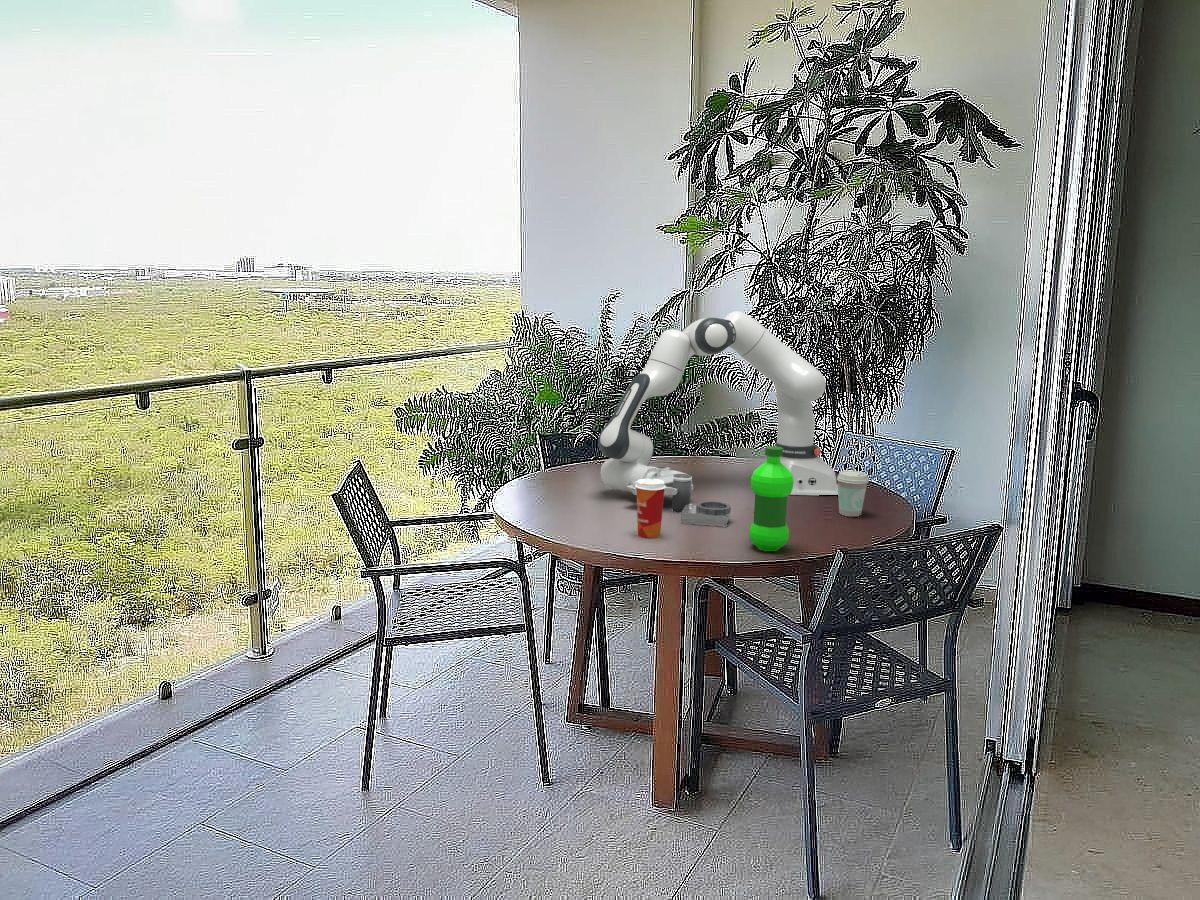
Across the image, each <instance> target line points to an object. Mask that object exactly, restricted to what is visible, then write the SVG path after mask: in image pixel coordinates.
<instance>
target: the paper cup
mask: <svg viewBox="0 0 1200 900" xmlns="http://www.w3.org/2000/svg"><path fill="white" fill-rule="evenodd" d="M635 487H636V488H637V495H636V516H637V518H636V523H637V536H638V537H640V538H643V539H656V538H659V537H660V536H661V529H662V519H663V510H664V509H663V508H664V498H665V494H664V489H665V488H666V486H665V484H664V481H662V480H659V479H640V480H638V481H637V484H636V485H635Z"/></svg>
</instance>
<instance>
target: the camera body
mask: <svg viewBox="0 0 1200 900" xmlns="http://www.w3.org/2000/svg"><path fill="white" fill-rule="evenodd" d="M731 508H732V505H731V504H729V503H727V502H722V501H715V500H714V501H713V500H706V501H700V502H697V503H696V504H694V503H692V502H690V503H689V504H688V505H687V504H686V506H685V507H684V509H683V510H682V512H681V513H680V524H681V523H683V525H693V524H695V525H694V526H704V525H710V526H709V527H716V526H725V527H724V528H727V526H726V525H728V524H729V521H730V519H729V518H730V516H731V512H732V511H731V510H732V509H731ZM728 520H729V521H728ZM727 523H728V524H727Z"/></svg>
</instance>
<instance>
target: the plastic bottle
mask: <svg viewBox="0 0 1200 900" xmlns="http://www.w3.org/2000/svg"><path fill="white" fill-rule="evenodd" d="M764 456H766V461H765V462H763V463H761V464H760V466H758V467H757V468H756V469H755V470H753V473H752V475H751V477H750V490H751V491H752V492H753V493H754V508H753V509H754V510H753V511H754V512H753V522H752V523H751V525H750V527H749V533H748V537H749V539H750V541H751V542H752V544H753V546H755V547H757V549H758V548H759V549H758V550H760V549H761V550H760V551H762V550H764V551H763V552H767V551H774V552H777V551H779V550H780V549H782V548H783V547H784V546H786V544H787V543H788V541H789V538H790V529H789V527H788V524H787V510H788V509H787V507H788V496H789V495H790V493H791V492H792V489H793V484H794V478H793V475H792V473H791V472H790V471H789V470H788V469H787V468H786V467H785V466H784V465H783V464H782V463H781V462H780V457H781V456H783V448H782V447H776V446H775V445H773V446H772V445H769V446H768V445H767V446H765V447H764Z"/></svg>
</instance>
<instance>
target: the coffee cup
mask: <svg viewBox="0 0 1200 900" xmlns="http://www.w3.org/2000/svg"><path fill="white" fill-rule="evenodd" d="M836 481H837V484H838V514H839V513H840V514H842V515H845V516H859V515H861V516H862V513H863V512H862V511H863V506H864V501H865V496H866V491H867V485H868V483H869V482H870V481H869V477H868V473H866V472H863V471H858V470H842V471H841V470H840V471H839V473H838V475H837V476H836Z"/></svg>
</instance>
